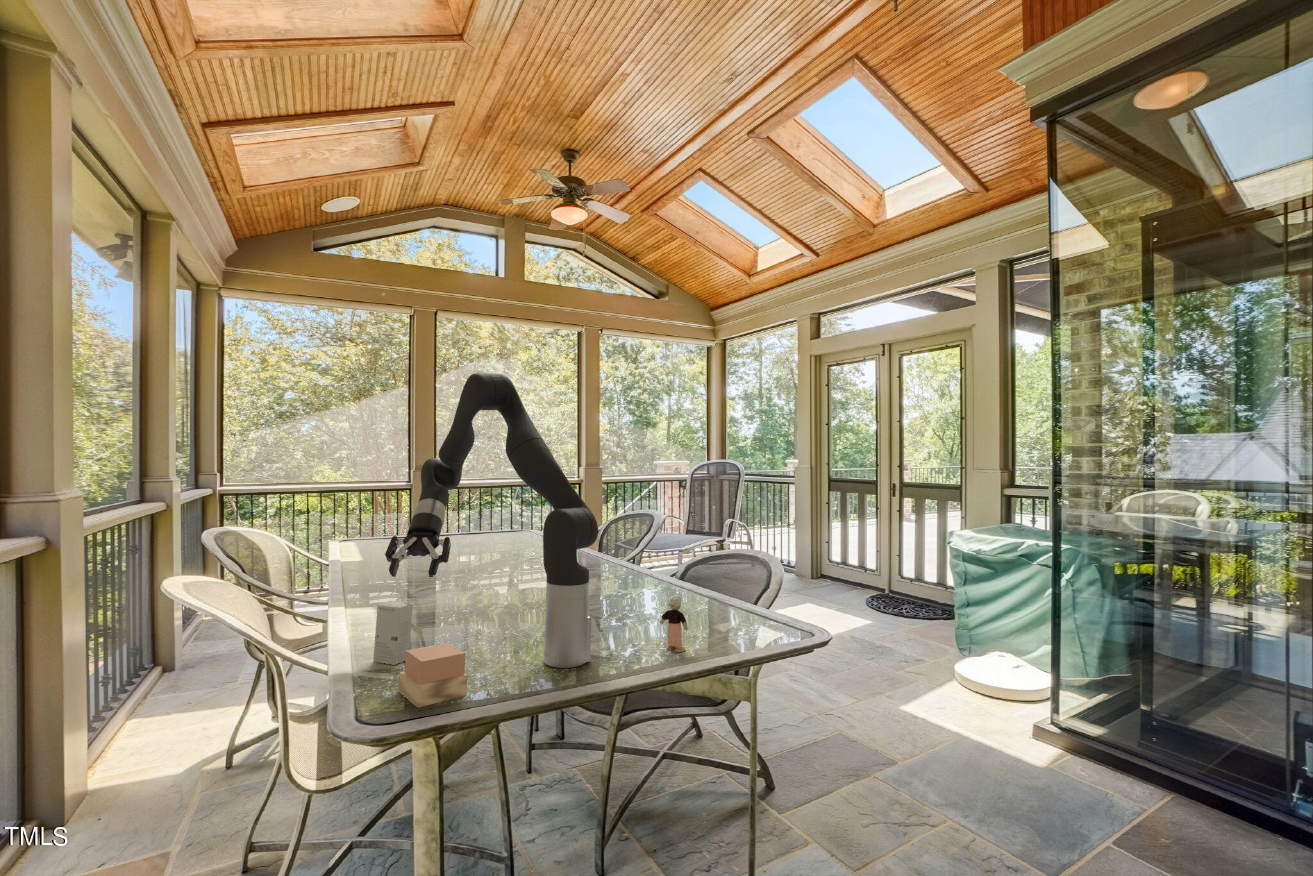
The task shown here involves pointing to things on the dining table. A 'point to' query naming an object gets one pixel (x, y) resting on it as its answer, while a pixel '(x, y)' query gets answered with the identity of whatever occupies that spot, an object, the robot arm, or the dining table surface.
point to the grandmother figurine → (674, 624)
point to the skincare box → (392, 632)
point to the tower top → (434, 663)
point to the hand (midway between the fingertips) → (411, 575)
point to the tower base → (431, 689)
